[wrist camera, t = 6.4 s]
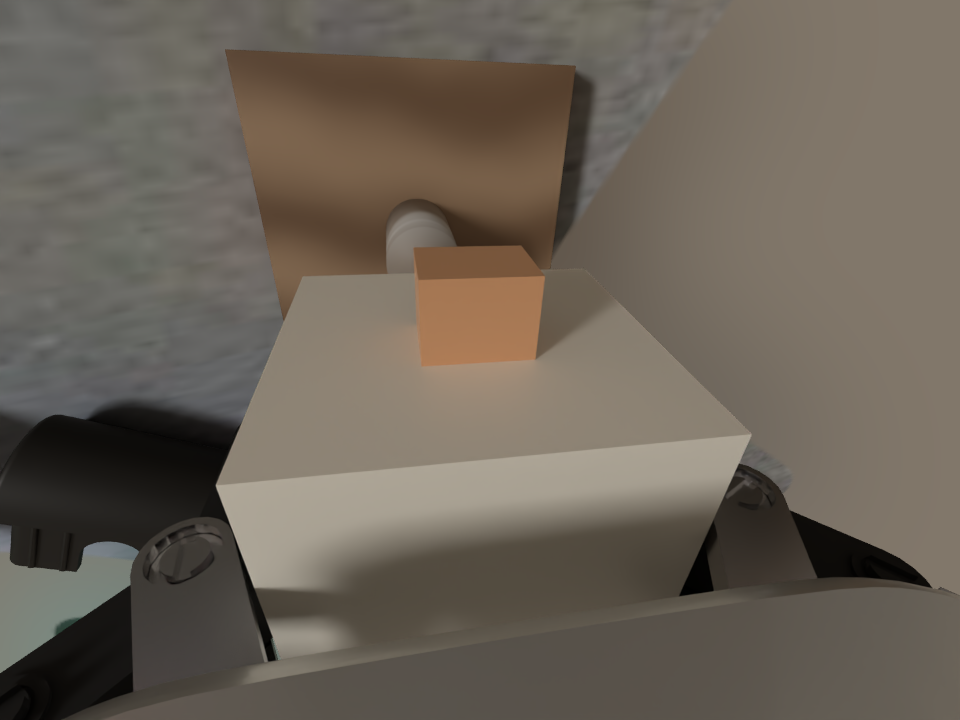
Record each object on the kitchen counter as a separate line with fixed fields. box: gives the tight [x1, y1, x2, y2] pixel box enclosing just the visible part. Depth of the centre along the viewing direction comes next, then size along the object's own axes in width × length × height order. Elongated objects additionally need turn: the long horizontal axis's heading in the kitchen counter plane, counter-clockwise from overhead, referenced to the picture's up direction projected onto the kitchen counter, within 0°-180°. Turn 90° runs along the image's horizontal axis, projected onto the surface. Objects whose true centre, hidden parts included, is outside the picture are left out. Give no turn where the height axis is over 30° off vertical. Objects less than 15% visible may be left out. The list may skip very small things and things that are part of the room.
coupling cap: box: [216, 245, 752, 660], centre depth 10 cm, size 9×6×6 cm
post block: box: [225, 49, 576, 320], centre depth 21 cm, size 14×14×6 cm
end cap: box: [0, 415, 228, 572], centre depth 26 cm, size 10×7×7 cm
